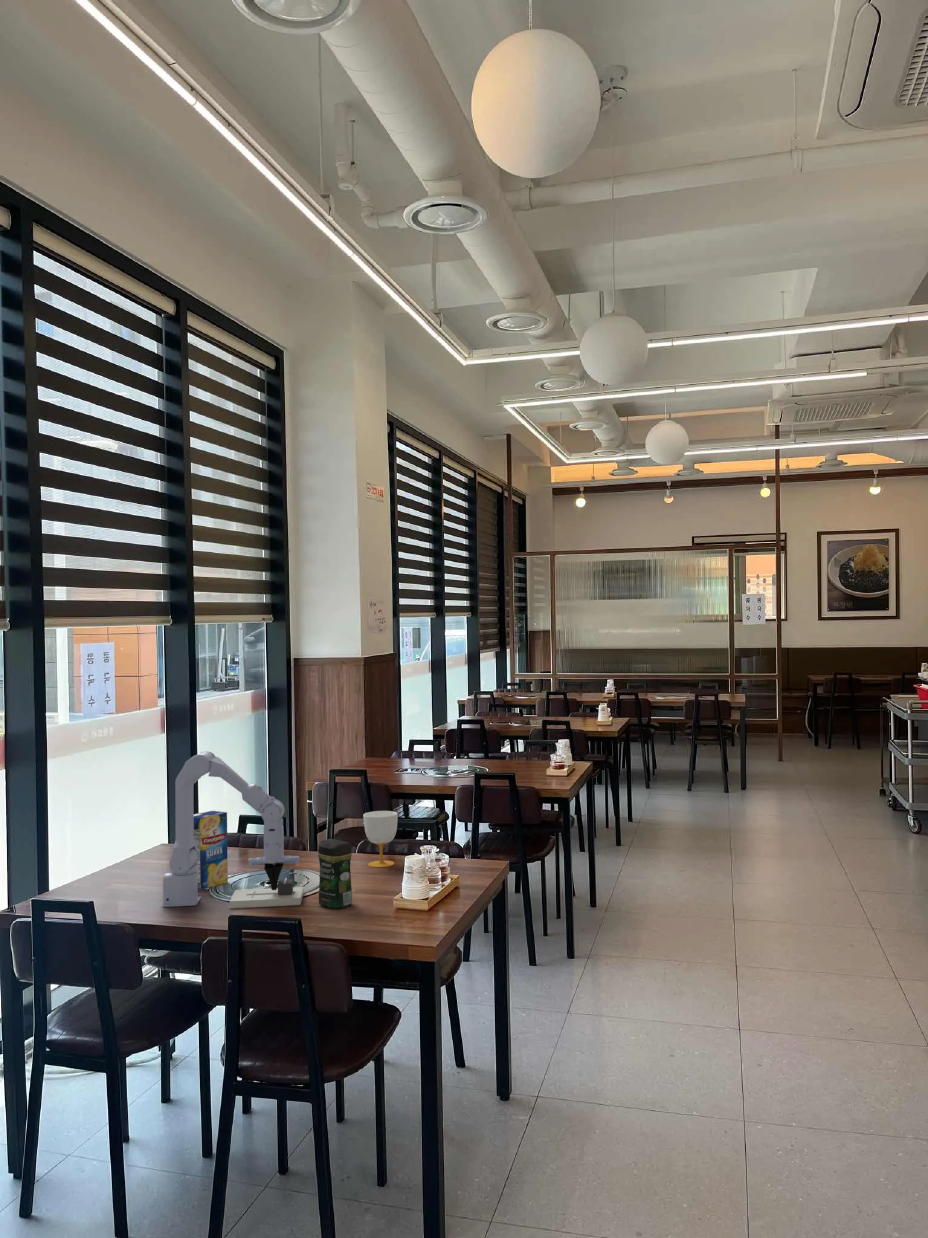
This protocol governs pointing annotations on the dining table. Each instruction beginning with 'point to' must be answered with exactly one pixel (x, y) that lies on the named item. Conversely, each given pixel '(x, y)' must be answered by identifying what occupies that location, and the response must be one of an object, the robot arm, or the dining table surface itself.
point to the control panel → (265, 898)
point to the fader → (285, 886)
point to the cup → (380, 832)
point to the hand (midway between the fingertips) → (274, 889)
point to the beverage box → (211, 848)
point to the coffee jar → (335, 874)
